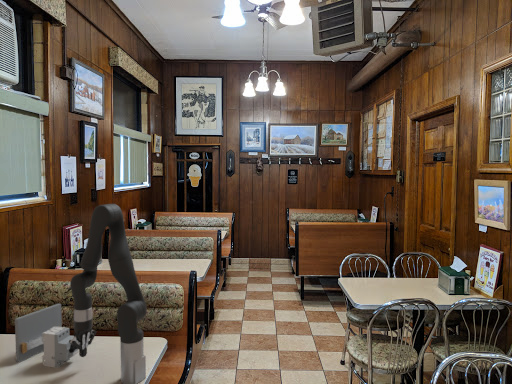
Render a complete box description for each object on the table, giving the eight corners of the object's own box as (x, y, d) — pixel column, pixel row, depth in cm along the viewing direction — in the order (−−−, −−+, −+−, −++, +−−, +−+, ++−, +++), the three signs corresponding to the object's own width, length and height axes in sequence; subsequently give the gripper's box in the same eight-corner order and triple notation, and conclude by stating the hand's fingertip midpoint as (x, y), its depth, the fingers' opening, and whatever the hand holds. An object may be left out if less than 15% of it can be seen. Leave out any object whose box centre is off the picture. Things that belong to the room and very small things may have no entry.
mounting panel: (62, 342, 189) (61, 304, 188) (18, 362, 169) (17, 319, 168) (59, 341, 190) (58, 303, 189) (16, 361, 170) (14, 318, 169)
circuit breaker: (70, 369, 163) (69, 336, 163) (42, 365, 166) (41, 333, 165) (81, 360, 171) (81, 329, 170) (54, 357, 174) (54, 326, 173)
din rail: (62, 335, 187) (62, 328, 187) (23, 353, 169) (23, 344, 169) (60, 335, 188) (59, 327, 188) (20, 352, 170) (20, 343, 169)
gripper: (76, 324, 154) (76, 365, 155) (101, 314, 166) (101, 351, 167) (63, 321, 157) (63, 360, 158) (89, 311, 169) (89, 347, 170)
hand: (83, 356), depth 162 cm, fingers closed
